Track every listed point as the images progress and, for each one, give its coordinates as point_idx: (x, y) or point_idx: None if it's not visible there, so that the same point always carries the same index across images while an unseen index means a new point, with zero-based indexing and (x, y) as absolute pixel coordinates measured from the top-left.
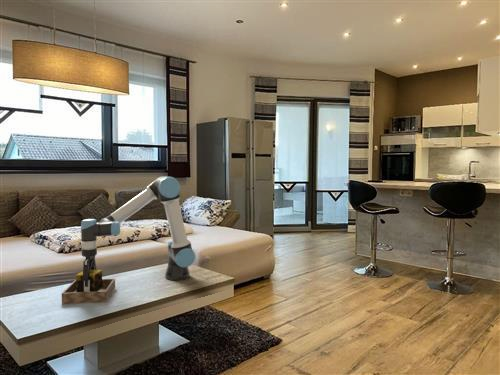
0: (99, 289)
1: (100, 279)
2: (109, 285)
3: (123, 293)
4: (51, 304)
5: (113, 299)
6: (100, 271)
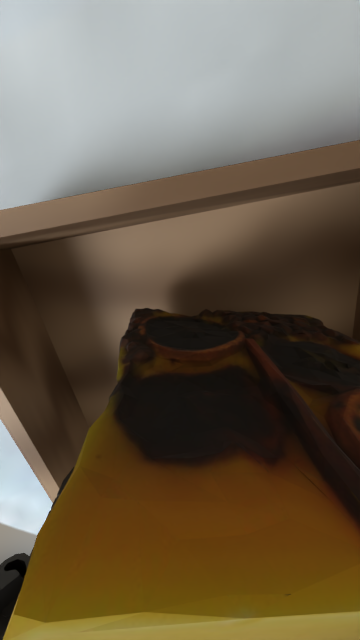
0: (216, 312)
1: (162, 374)
2: (233, 182)
3: (137, 61)
4: None
5: (313, 117)
6: (229, 586)
